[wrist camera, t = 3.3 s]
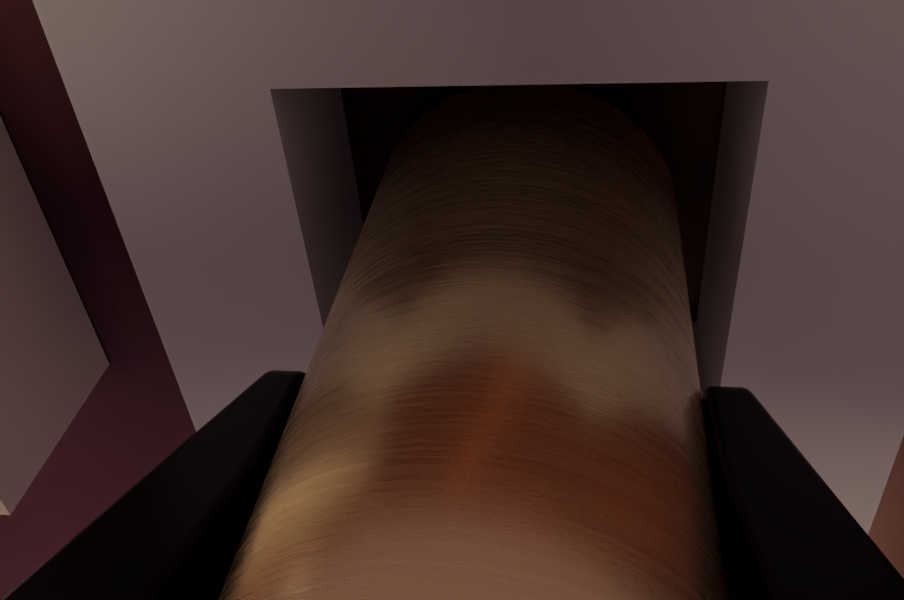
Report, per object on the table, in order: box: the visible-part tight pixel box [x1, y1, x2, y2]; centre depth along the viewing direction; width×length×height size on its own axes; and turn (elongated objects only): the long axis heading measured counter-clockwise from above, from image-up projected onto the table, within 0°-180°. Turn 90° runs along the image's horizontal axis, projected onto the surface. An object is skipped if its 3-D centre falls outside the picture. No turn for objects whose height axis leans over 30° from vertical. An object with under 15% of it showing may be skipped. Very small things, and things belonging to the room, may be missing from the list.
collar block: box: [32, 0, 904, 534], centre depth 11 cm, size 10×10×2 cm
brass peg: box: [218, 84, 728, 600], centre depth 8 cm, size 4×4×10 cm
